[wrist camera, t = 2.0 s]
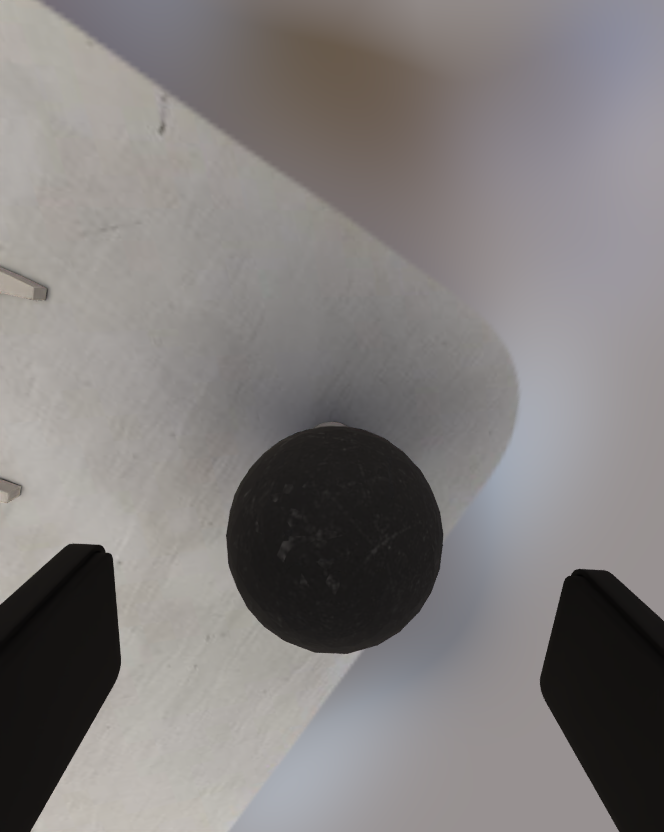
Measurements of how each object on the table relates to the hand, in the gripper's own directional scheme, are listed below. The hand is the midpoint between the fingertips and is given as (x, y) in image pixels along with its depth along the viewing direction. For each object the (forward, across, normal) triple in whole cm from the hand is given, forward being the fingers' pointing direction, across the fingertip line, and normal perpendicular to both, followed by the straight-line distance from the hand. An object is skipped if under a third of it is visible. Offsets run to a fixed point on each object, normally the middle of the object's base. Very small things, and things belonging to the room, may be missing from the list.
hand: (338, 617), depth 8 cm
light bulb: (+10, 0, -1) cm, 10 cm away
